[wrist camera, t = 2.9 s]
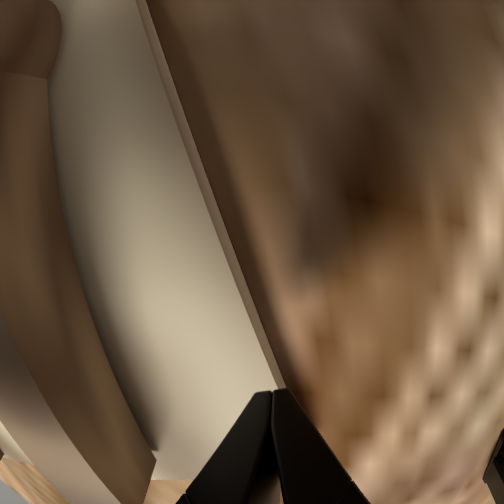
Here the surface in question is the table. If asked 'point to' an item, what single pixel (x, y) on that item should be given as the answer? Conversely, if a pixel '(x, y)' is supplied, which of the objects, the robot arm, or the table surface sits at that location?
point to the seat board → (149, 240)
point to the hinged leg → (52, 296)
